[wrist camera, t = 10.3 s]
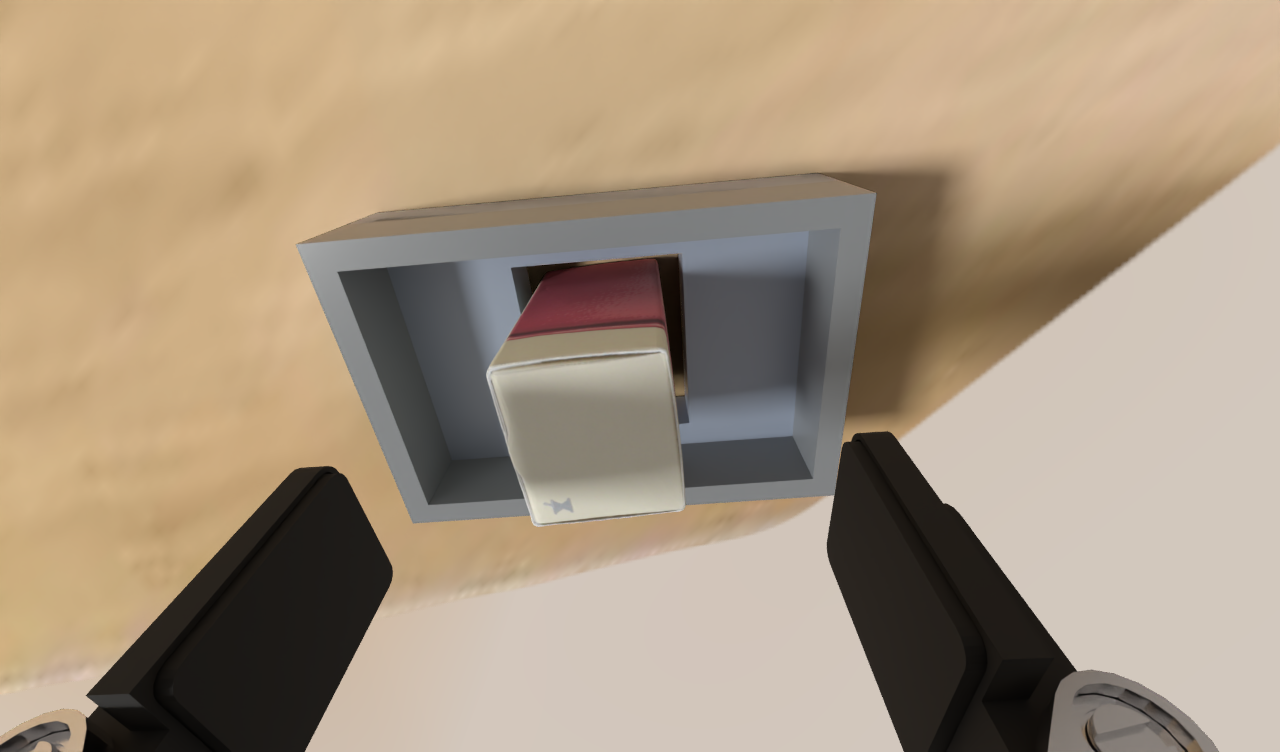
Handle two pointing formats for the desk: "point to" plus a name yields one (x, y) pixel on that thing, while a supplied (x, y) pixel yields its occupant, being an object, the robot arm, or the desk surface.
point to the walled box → (598, 230)
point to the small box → (592, 397)
